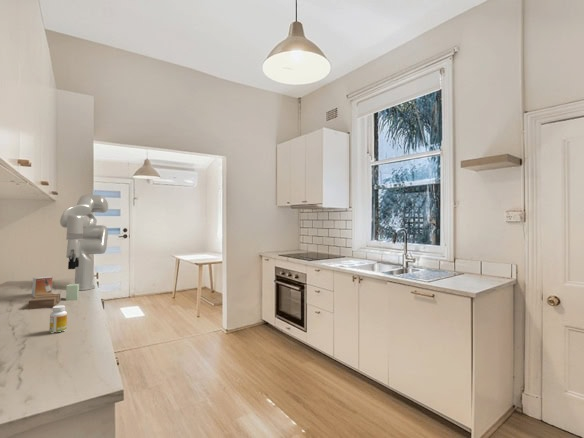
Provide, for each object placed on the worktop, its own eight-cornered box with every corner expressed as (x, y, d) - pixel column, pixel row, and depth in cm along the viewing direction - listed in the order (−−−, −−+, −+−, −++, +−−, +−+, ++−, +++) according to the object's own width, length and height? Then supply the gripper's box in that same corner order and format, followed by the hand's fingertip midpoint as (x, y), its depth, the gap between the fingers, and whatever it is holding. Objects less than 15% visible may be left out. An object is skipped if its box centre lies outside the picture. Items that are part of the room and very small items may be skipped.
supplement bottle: (69, 328, 127) (69, 304, 127) (62, 333, 122) (63, 308, 122) (53, 329, 126) (54, 304, 126) (46, 334, 121) (47, 308, 121)
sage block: (67, 298, 176) (68, 284, 176) (78, 297, 178) (79, 283, 178) (65, 300, 171) (66, 285, 172) (76, 299, 174) (77, 285, 174)
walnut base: (36, 302, 166) (37, 295, 166) (60, 301, 170) (60, 293, 170) (28, 309, 153) (28, 301, 153) (53, 307, 157) (53, 299, 157)
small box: (34, 297, 176) (35, 278, 176) (31, 296, 180) (32, 277, 180) (52, 295, 183) (52, 277, 183) (48, 294, 186) (49, 276, 186)
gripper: (69, 236, 182) (68, 266, 181) (63, 237, 166) (61, 270, 166) (85, 236, 185) (84, 266, 184) (80, 237, 169) (78, 269, 169)
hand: (73, 268), depth 175 cm, fingers open, 9 cm apart
